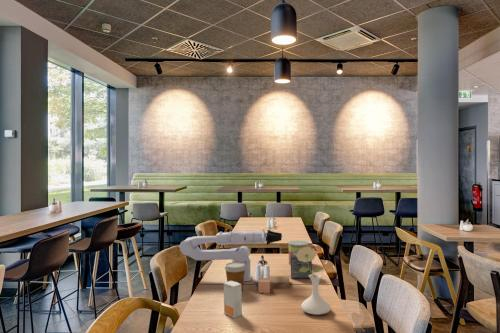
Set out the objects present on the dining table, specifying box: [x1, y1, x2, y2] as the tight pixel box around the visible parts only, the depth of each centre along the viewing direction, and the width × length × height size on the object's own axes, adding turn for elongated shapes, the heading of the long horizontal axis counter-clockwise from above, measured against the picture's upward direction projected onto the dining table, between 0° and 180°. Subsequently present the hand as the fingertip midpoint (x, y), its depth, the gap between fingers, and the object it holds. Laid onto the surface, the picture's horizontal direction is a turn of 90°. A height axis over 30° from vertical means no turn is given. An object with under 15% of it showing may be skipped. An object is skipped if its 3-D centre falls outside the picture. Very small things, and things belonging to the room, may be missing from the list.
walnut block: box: [269, 275, 290, 289], centre depth 170 cm, size 9×9×3 cm
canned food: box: [288, 240, 309, 266], centre depth 205 cm, size 11×11×12 cm
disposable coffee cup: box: [224, 261, 246, 291], centre depth 163 cm, size 10×10×12 cm
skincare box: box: [223, 281, 243, 319], centre depth 138 cm, size 6×4×12 cm
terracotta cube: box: [257, 277, 271, 294], centre depth 163 cm, size 5×5×5 cm
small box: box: [290, 255, 313, 280], centre depth 181 cm, size 11×6×10 cm, turn 84°
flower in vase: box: [296, 246, 332, 316], centre depth 139 cm, size 13×11×25 cm
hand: (281, 236), depth 177 cm, fingers open, 7 cm apart
